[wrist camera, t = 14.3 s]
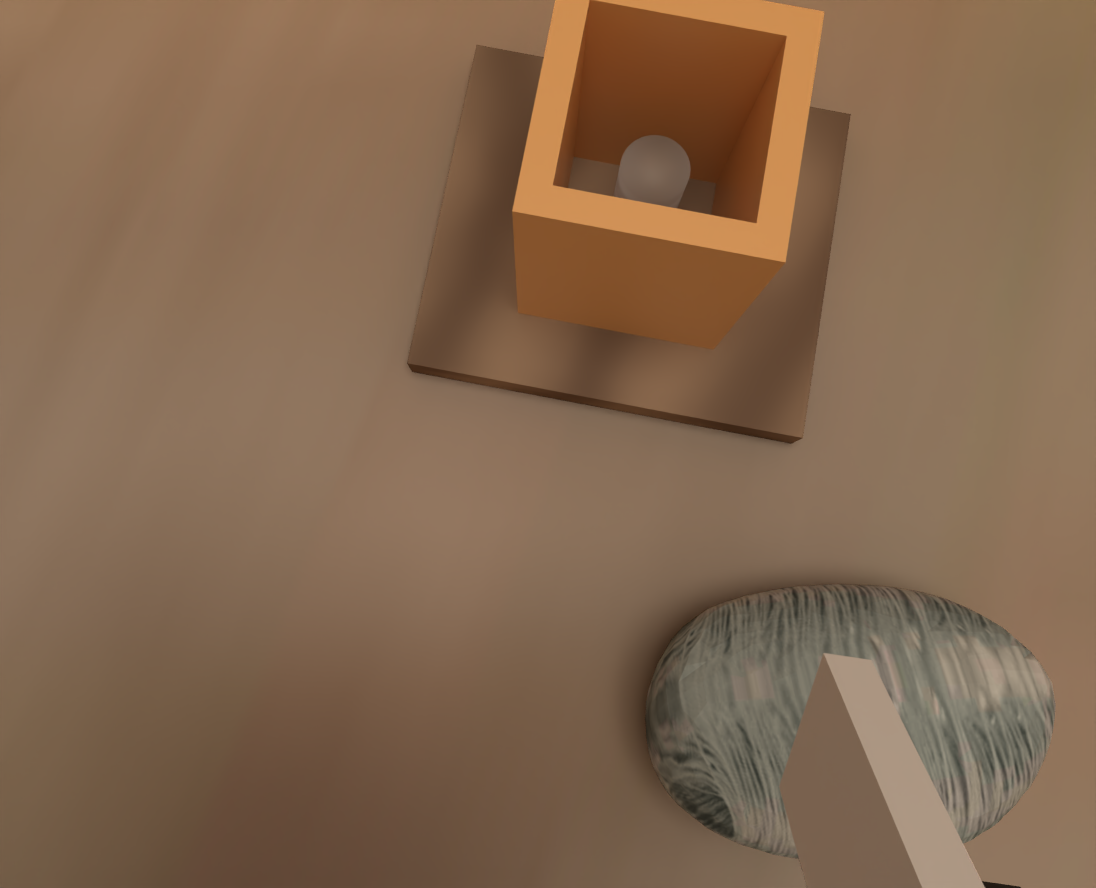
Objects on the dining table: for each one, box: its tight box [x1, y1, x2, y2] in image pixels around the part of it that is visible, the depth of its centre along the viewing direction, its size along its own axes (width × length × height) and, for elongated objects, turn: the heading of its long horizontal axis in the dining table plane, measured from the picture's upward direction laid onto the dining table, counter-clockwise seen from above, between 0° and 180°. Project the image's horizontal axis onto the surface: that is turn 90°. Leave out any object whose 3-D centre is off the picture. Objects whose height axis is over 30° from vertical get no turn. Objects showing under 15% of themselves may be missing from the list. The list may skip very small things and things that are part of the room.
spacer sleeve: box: [512, 0, 824, 350], centre depth 30 cm, size 8×8×10 cm
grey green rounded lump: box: [645, 584, 1055, 859], centre depth 31 cm, size 14×10×10 cm
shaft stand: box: [407, 45, 851, 443], centre depth 33 cm, size 16×14×8 cm
